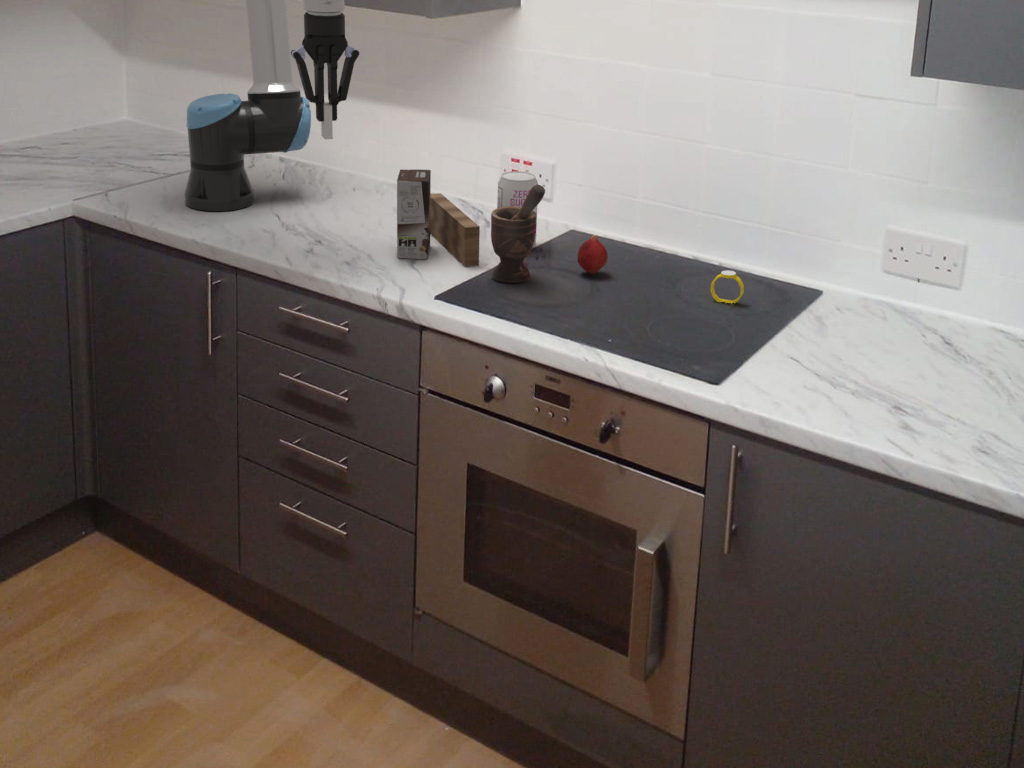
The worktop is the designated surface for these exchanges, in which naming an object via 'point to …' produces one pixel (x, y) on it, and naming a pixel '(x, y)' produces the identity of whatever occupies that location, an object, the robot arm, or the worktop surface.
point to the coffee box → (413, 214)
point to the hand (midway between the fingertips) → (327, 137)
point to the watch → (728, 275)
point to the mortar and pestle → (514, 237)
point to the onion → (592, 255)
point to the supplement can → (515, 190)
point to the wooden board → (454, 230)
